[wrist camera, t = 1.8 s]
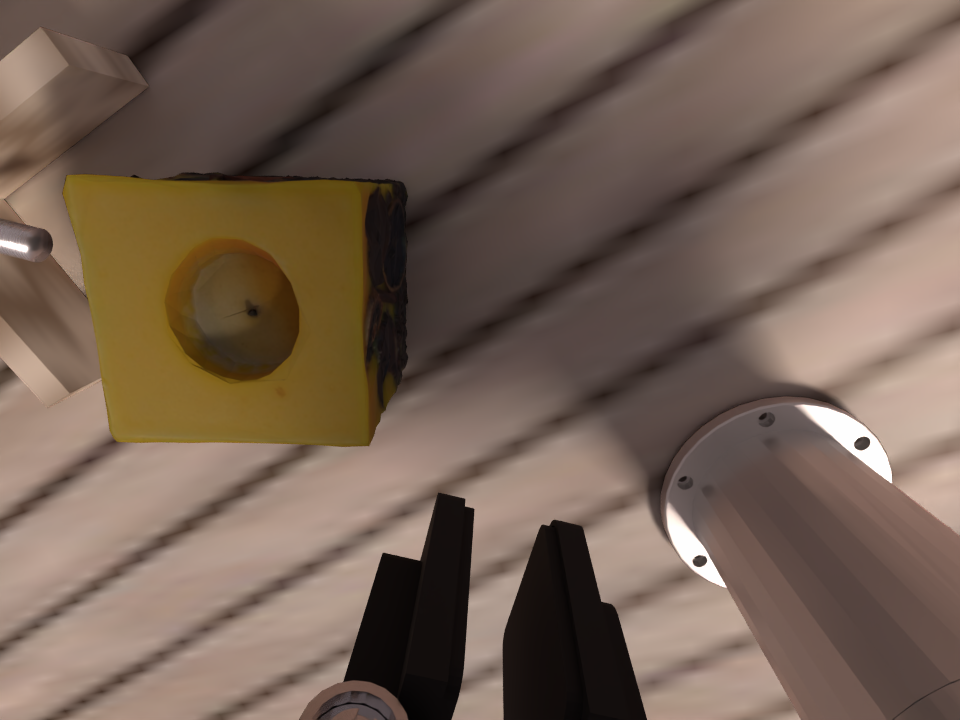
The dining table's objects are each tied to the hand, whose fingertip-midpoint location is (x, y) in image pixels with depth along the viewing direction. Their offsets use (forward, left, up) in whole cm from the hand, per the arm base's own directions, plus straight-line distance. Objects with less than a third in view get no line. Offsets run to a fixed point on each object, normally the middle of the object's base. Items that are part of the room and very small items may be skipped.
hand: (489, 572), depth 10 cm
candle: (+10, 0, -19) cm, 22 cm away
